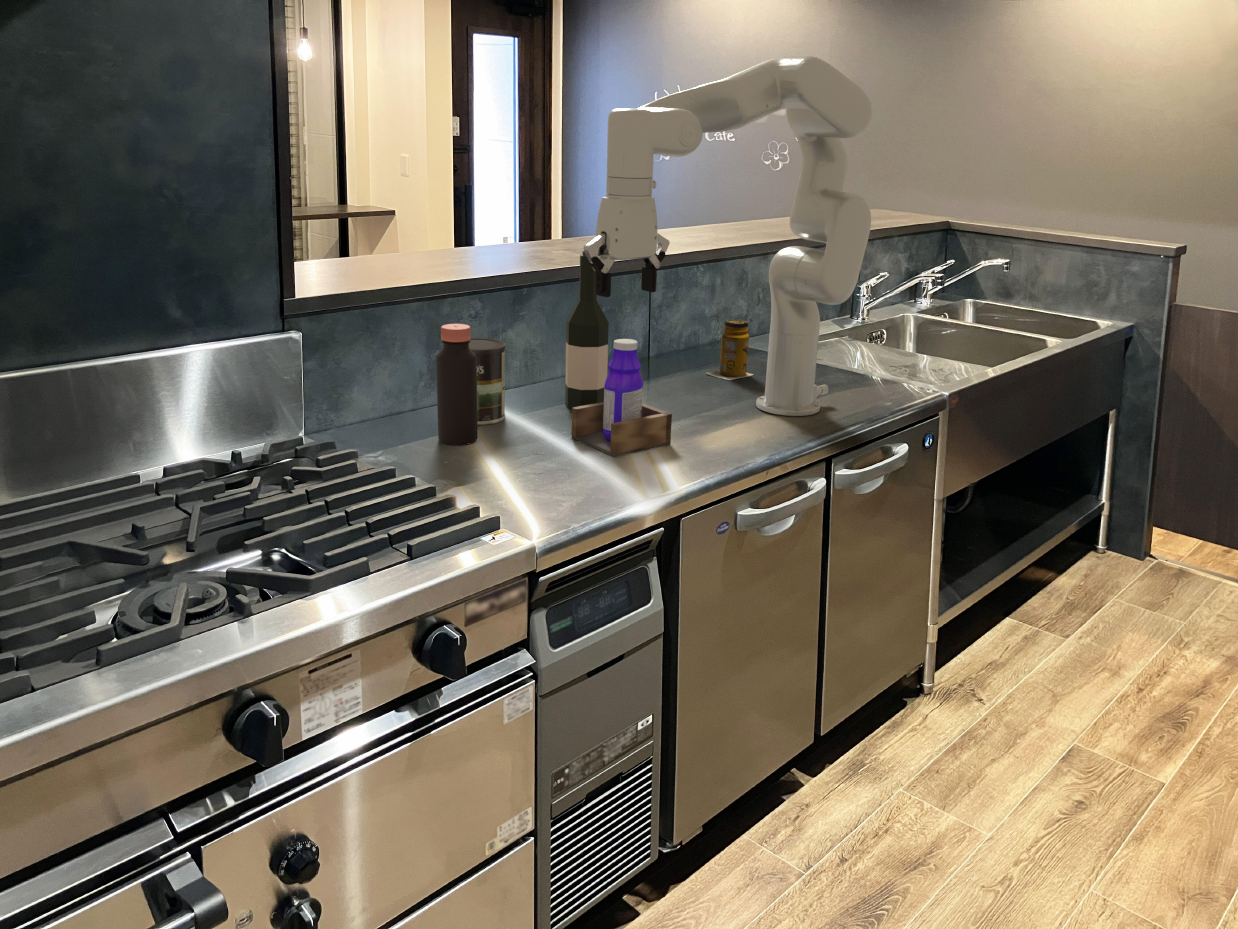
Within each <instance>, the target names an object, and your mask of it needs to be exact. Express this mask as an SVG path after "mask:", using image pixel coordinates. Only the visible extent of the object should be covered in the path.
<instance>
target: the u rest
mask: <svg viewBox="0 0 1238 929" xmlns="http://www.w3.org/2000/svg"><path fill="white" fill-rule="evenodd" d="M603 413H604V402H601V403H595V404H590V405H584V406H579V407H573V408H572V409H571V439H573V440H575V441H577V442H580V443H581V444H584V445H587V446H589V447H590V448H594V449H595V450H598V451H600V452H603V453H605V454H606V455H608V456H611V457H613V458H617V457H622V456H624V455H630V454H635V453H639V452H643V451H648V450H652V449H656V448H661V447H666V446H670V445H671V444H672V442H671V439H672V438H671V437H672V422H673V421H672V420H673V419H672V418H673V413H671V412H668V411H665V410H662V409H659V408H657V407H654V406H651V405H648V404H645V403H644V402H642V413H641V418H636V419H631V420H626V421H621V422H616V423H611V440H608V439H606V438H605V437H604V435H603Z"/></svg>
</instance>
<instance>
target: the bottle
mask: <svg viewBox="0 0 1238 929" xmlns="http://www.w3.org/2000/svg"><path fill="white" fill-rule="evenodd" d="M612 346H613V347H612V348H613V352H612V356H611V359H610V361H609V363H608V367H607V369H609V370H608V372H607V378H606V381H605V385H604V413H603V435H604V437H605V438H606V439H608V440H611V423H616V422H621V421H626V420H631V419H636V418H641V413H642V403H643V390H644V380H643V377H642V375H641V373H640V370H641V368H642V364H641V363H640V360H639V356H638V341H637V340H636V339H631V338H619V339H615V340H614V341H613V345H612Z"/></svg>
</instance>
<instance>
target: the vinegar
mask: <svg viewBox="0 0 1238 929" xmlns="http://www.w3.org/2000/svg"><path fill="white" fill-rule="evenodd" d="M471 334H472V333H471V326H470V325H469V324H465V323H448V324H443V325H442V326H440V337H441V343H442V344H443V345H442V346H443V348H441V350H440V351H439V352H438V353H437V354H436V357H435V363H436V364H435V365H436V366H435V367H436V368H435V369H436V370H435V371H436V398H437V399H436V400H437V404H436V405H437V406H436V407H437V436H438V440H439V442H441V443H442V444H445V445H450V446H465V445H470V444H473V443H476V442H477V440H478V436H479V435H478V430H479V429H478V428H479V427H478V426H479V425H478V424H477V358H476V355H475V353H474V352H473V351H472V350H471V349H470V348H469V343H470V339H471V338H472V335H471Z"/></svg>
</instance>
